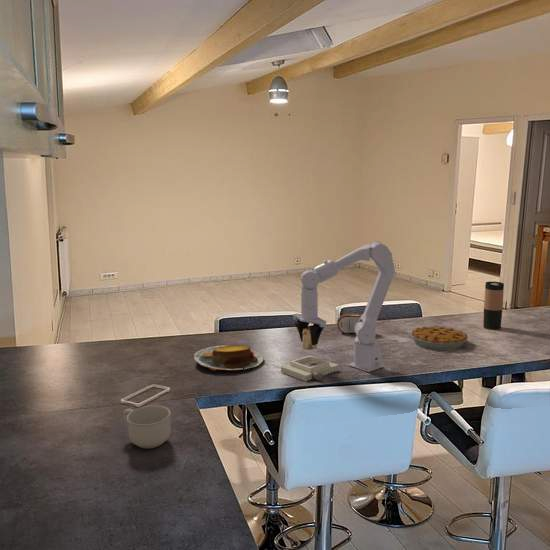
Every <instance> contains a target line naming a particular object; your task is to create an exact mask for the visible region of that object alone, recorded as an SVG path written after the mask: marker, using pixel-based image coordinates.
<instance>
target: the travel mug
mask: <svg viewBox="0 0 550 550" xmlns="http://www.w3.org/2000/svg"><path fill="white" fill-rule="evenodd" d="M484 285H485V287H484V288H485V289H484V298H483V299H484V300H483V302H484V303H483V327H482V328H484V329H486V330H490V331H491V330H492V331H499V330H501V328H502V319H503V306H504V286H505V284H504V282H499V281H486V282H485V284H484Z"/></svg>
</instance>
